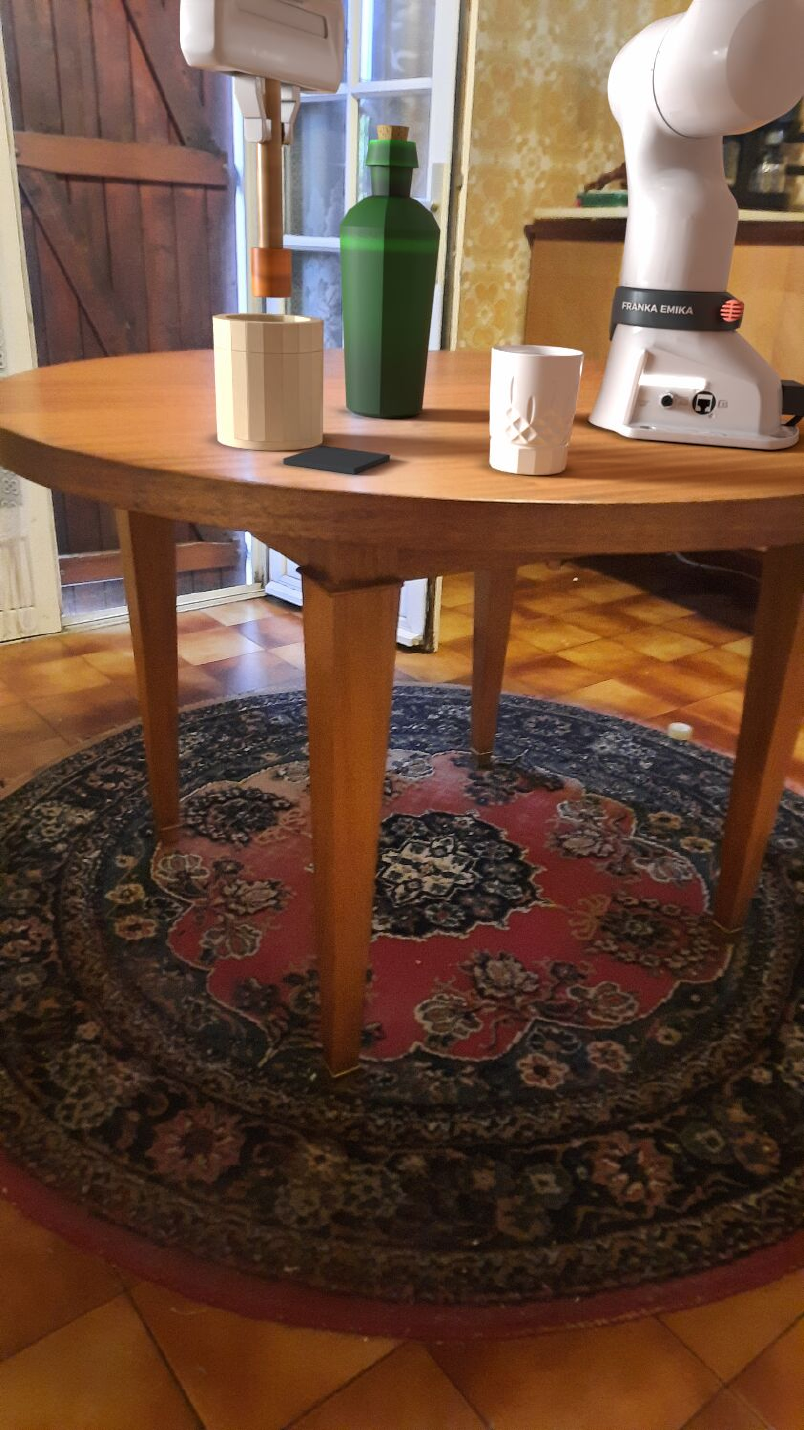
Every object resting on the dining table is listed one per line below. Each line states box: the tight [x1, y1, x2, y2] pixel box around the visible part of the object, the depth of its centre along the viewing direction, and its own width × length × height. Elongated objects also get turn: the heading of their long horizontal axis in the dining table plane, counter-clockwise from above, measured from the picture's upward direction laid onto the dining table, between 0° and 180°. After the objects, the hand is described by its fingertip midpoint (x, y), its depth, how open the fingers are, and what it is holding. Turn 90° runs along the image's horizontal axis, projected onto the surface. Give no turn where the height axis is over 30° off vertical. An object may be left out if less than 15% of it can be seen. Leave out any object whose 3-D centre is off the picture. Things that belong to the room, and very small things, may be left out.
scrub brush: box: [250, 78, 293, 299], centre depth 89 cm, size 4×4×17 cm
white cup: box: [489, 344, 585, 476], centre depth 89 cm, size 8×8×10 cm
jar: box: [212, 312, 325, 452], centre depth 96 cm, size 10×10×11 cm
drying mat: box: [282, 445, 391, 475], centre depth 90 cm, size 7×7×1 cm
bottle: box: [338, 124, 442, 419], centre depth 109 cm, size 11×11×28 cm
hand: (269, 145), depth 88 cm, fingers closed on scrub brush, 2 cm apart
